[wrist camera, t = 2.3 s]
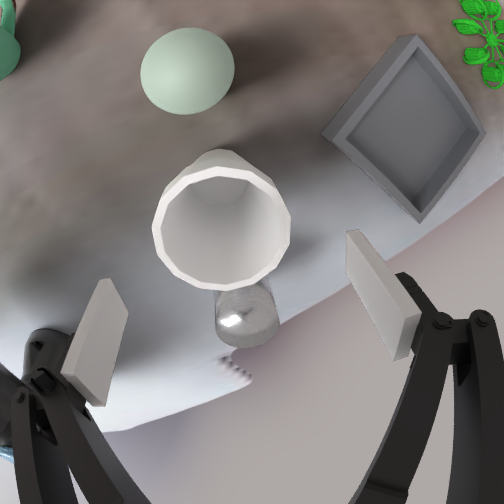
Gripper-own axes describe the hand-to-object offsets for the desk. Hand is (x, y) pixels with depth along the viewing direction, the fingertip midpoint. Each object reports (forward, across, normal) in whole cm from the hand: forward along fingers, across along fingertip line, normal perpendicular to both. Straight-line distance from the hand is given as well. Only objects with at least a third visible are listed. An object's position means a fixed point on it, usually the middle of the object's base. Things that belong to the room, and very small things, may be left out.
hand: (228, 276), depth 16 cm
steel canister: (+18, 0, +11) cm, 21 cm away
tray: (+18, -22, -3) cm, 29 cm away
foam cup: (+18, 0, 0) cm, 18 cm away
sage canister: (+18, 0, -11) cm, 21 cm away
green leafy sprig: (+19, -38, -16) cm, 46 cm away
